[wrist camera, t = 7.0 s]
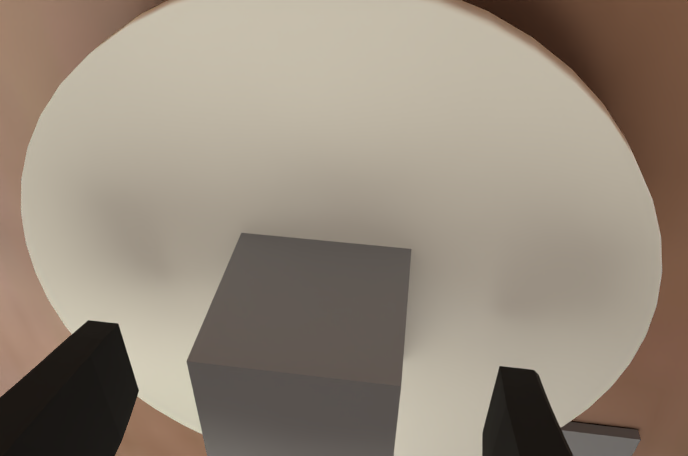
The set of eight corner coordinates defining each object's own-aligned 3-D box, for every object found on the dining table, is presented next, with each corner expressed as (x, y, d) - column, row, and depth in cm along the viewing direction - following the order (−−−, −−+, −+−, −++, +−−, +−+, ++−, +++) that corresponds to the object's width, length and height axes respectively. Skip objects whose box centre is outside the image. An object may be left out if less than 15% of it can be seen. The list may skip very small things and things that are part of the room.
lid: (773, -7, 10) (945, 124, 6) (564, 476, 18) (591, 640, 15) (-57, -51, 11) (-280, 39, 8) (113, 418, 20) (44, 557, 16)
